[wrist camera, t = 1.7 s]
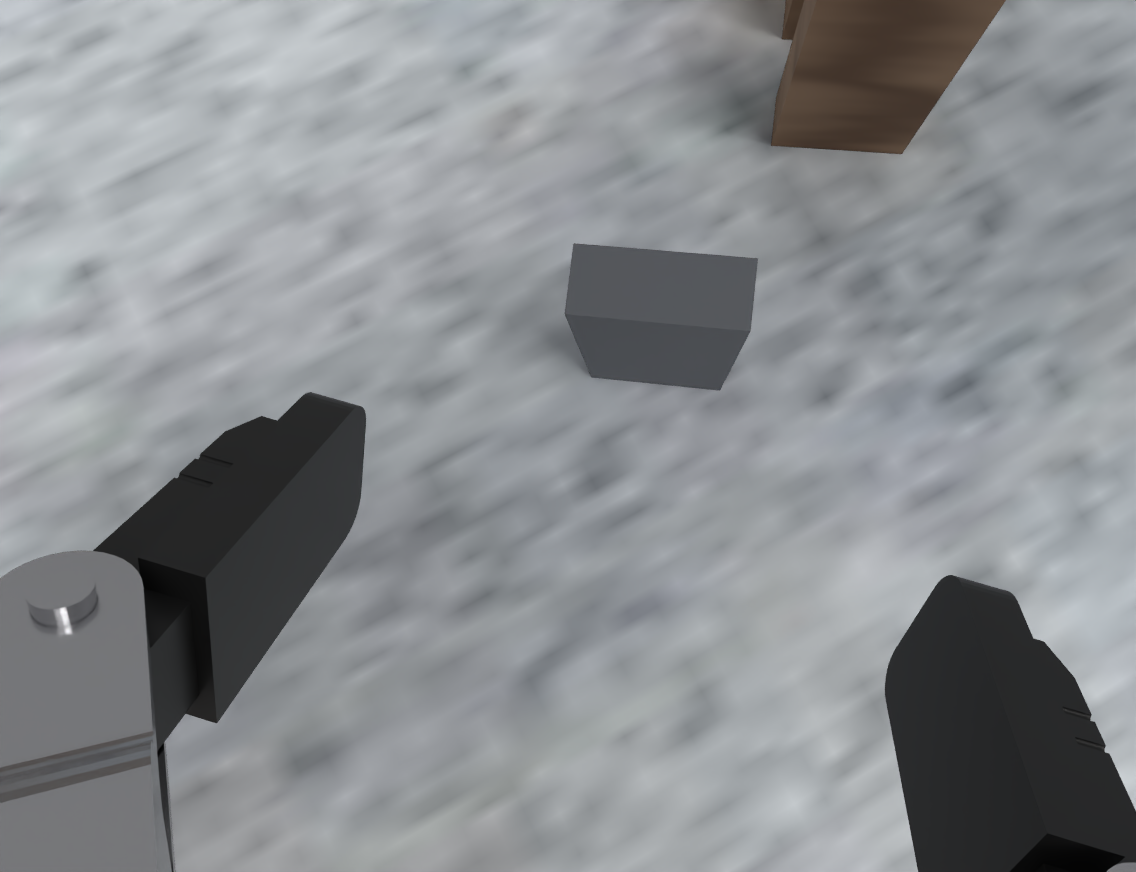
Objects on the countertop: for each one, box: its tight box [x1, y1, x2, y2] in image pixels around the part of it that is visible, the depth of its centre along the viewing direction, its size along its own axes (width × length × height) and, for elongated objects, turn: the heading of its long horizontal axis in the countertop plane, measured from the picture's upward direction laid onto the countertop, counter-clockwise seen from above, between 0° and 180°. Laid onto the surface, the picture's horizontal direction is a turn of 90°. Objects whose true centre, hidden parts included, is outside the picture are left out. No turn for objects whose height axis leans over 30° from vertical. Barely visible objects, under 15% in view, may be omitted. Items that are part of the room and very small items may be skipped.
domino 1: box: [565, 244, 758, 390], centre depth 26 cm, size 5×2×10 cm, turn 83°
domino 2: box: [771, 0, 1006, 154], centre depth 26 cm, size 5×2×10 cm, turn 83°
